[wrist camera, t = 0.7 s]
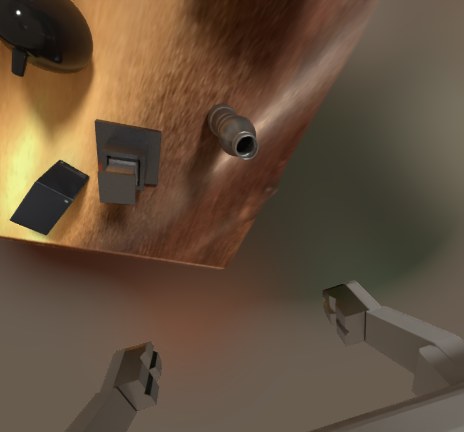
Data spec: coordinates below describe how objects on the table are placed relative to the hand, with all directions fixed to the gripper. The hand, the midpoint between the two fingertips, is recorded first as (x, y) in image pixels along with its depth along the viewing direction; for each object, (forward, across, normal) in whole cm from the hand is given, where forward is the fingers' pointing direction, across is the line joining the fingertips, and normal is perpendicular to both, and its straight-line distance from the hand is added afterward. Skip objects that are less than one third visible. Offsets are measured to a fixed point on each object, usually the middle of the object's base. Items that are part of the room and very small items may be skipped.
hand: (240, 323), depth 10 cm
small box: (+45, +32, -4) cm, 55 cm away
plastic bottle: (+45, -6, -8) cm, 46 cm away
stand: (+45, +15, -6) cm, 48 cm away
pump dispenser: (+40, +16, -26) cm, 51 cm away
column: (+43, +15, -5) cm, 46 cm away
